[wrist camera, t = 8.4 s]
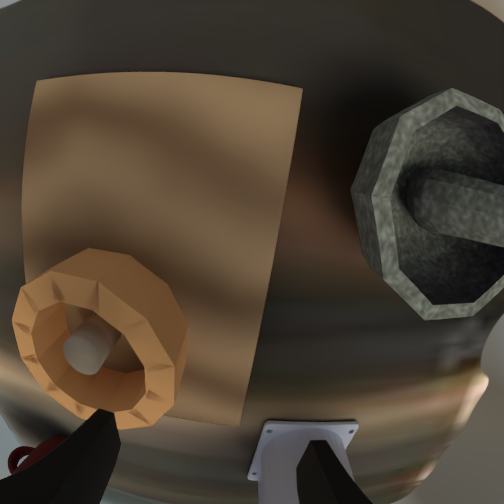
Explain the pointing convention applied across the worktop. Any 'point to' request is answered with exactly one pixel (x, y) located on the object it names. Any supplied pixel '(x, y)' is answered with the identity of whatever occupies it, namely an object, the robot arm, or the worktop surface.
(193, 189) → the shelf plate
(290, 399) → the worktop surface
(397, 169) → the mortar and pestle
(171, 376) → the orange notched ring
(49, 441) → the mug
